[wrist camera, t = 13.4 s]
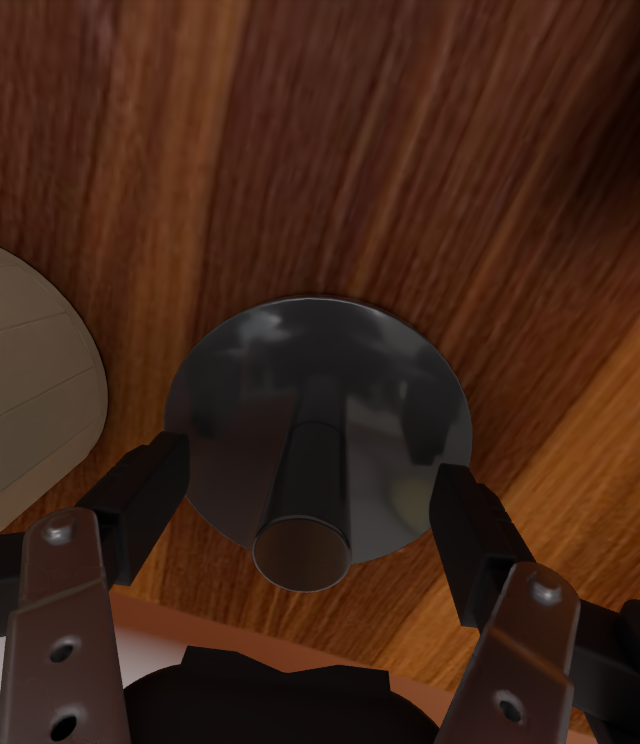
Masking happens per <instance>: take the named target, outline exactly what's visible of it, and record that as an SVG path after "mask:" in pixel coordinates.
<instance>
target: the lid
mask: <svg viewBox="0 0 640 744" xmlns="http://www.w3.org/2000/svg"><path fill="white" fill-rule="evenodd" d="M164 431H167V432H175V433H184V434H187V435H188V437H189V455H190V481H189V486H188V489H187V492H186V494H185V497H186V498H187V500H188V501H189V502H190V503H191V505H192V506H193V507H194V509H195V510H196V511H197V512H198V513H199V514H200V515H201V516H202V517H203V518H204V519H205V520H206V521H207V522H208V523H209V524H210V525H211V526H212V527H213V528H215V529H216V530H217V531H218V532H220V533H221V534H222V535H224V536H225V537H227V538H228V539H230V540H231V541H233V542H234V543H236V544H238V545H240V546H242V547H244V548H246V549H248V550H250V551H252V555H253V560H254V562H255V565H256V567H257V569H258V570H259V571H260V573H261V574H262V575H263V576H264V577H265V578H266V579H267V580H269V581H270V582H271V583H273V584H275V585H277V586H279V587H281V588H284V589H286V590H290V591H295V592H316V591H321V590H324V589H327V588H329V587H331V586H333V585H335V584H336V583H338V582H339V581H340V580H341V579H342V578H343V577H344V576H345V575H346V573H347V571H348V570H349V567H350V565H352V564H358V563H362V562H366V561H371V560H374V559H377V558H379V557H382V556H385V555H388V554H390V553H392V552H394V551H396V550H399V549H401V548H403V547H405V546H406V545H408V544H409V543H411V542H413V541H414V540H416V539H417V538H419V537H420V536H421V535H423V534H424V533H425V532H426V531H428V530H429V529H430V528H431V525H430V521H429V504H430V499H431V495H432V492H433V488H434V484H435V480H436V476H437V472H438V468H439V466H440V464H441V463H447V464H455V465H464V466H467V467H469V463H470V458H471V453H472V438H473V431H472V421H471V413H470V410H469V406H468V402H467V398H466V395H465V393H464V391H463V388H462V386H461V384H460V381H459V379H458V377H457V376H456V374H455V373H454V371H453V369H452V368H451V366H450V365H449V363H448V361H447V360H446V359H445V358H444V357H443V355H442V354H441V353H440V352H439V351H438V350H437V348H436V347H435V346H434V345H433V344H432V343H431V341H430V340H428V339H427V338H426V337H425V336H424V335H423V334H422V333H420V332H419V331H418V330H417V329H416V328H415V327H413V326H412V325H410V324H409V323H407V322H406V321H404V320H403V319H401V318H400V317H398V316H397V315H395V314H393V313H390V312H388V311H386V310H384V309H382V308H380V307H378V306H376V305H372V304H369V303H366V302H363V301H360V300H357V299H353V298H347V297H342V296H336V295H324V294H303V295H291V296H285V297H280V298H276V299H271V300H267V301H264V302H261V303H259V304H256V305H253V306H251V307H248V308H246V309H244V310H242V311H240V312H238V313H236V314H235V315H233V316H231V317H229V318H227V319H226V320H225V321H223V322H222V323H221V324H219V325H218V326H217V327H215V328H214V329H213V330H211V331H210V332H209V333H207V334H206V335H205V336H204V337H203V338H202V339H201V340H200V341H199V342H198V343H197V344H196V345H195V346H194V347H193V348H192V350H191V351H190V353H189V354H188V355H187V357H186V358H185V360H184V361H183V362H182V364H181V366H180V367H179V369H178V371H177V373H176V375H175V377H174V379H173V381H172V384H171V387H170V390H169V393H168V397H167V401H166V407H165V413H164Z"/></svg>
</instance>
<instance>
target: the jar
mask: <svg viewBox="0 0 640 744" xmlns="http://www.w3.org/2000/svg"><path fill="white" fill-rule="evenodd" d="M107 407H108V388H107V381H106V376H105V370H104V367H103V364H102V361H101V357H100V354H99V352H98V349H97V347H96V345H95V343H94V341H93V338H92V336H91V334H90V333H89V331H88V329H87V328H86V326H85V324H84V323H83V321H82V319H81V318H80V316H79V315H78V314H77V312H76V311H75V310H74V308H73V307H72V306H71V304H70V303H69V302H68V301H67V300H66V299H65V297H64V296H63V295H62V294H61V293H60V292H59V291H58V290H57V289H56V288H55V287H54V286H53V285H52V284H51V283H50V282H49V281H48V280H47V279H46V278H44V277H43V276H42V275H41V274H40V273H39V272H38V271H36V270H35V269H33V268H32V267H31V266H29V265H28V264H26V263H25V262H24V261H22V260H21V259H19V258H18V257H16V256H14V255H12V254H11V253H9V252H7V251H5V250H4V249H2V248H0V532H1V531H2V530H3V529H4V528H5V527H7V526H8V525H9V524H10V523H11V522H12V521H14V520H15V519H16V518H17V517H18V516H19V515H20V514H22V513H23V512H24V511H25V510H26V509H27V508H29V507H30V506H31V505H32V504H33V503H34V502H35V501H37V500H38V499H39V498H40V497H41V496H42V495H44V494H45V493H46V492H47V491H48V490H49V489H50V488H52V487H53V486H54V485H55V484H56V483H57V482H59V481H60V480H61V479H62V478H63V477H64V476H65V475H67V474H68V473H69V472H70V471H71V470H72V469H74V468H75V467H76V466H77V465H78V464H79V463H80V462H82V461H83V460H84V459H85V458H86V457H87V456H88V454H89V453H90V452H91V451H92V449H93V448H94V446H95V445H96V443H97V442H98V439H99V437H100V435H101V433H102V431H103V428H104V424H105V420H106V416H107Z"/></svg>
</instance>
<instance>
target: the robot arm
mask: <svg viewBox="0 0 640 744" xmlns="http://www.w3.org/2000/svg"><path fill="white" fill-rule="evenodd" d="M189 481H190V455H189V437H188V435H187V434H184V433H175V432H167V431H162V432H160V433H159V434H158V435H157V437H156V438H155V439H154V440H153V441H152V442H151V443H150V444H149V445H141V446H139V447H137V448H135V449H133V450H132V451H130V452H128V453H126V454H125V455H124V456H123V457H122V458H121V459H120V460H119V461H118V462H117V463H116V465H115V466H113V467H112V468H111V469H110V470H109V471H108V472H107V475H106V476H103V477H102V478H101V479H100V480H99V481H98V482H97V483H96V485H95V486H94V487H93V488H92V489H91V490H90V491H89V492H88V493H87V494H86V495H85V496H84V497H83V498H82V499H81V500H80V501H79V502H78V503H77V504H76V505H75V506H74V507H71V508H65V509H61V510H57V511H54V512H52V513H50V514H47V515H46V516H44V517H42V518H40V519H39V520H37V521H36V522H35V523H34V524H32V525H31V526H30V527H29V529H28V530H27V531H26V532H20V533H12V534H4V535H0V637H4V636H6V642H5V652H4V662H3V671H2V681H1V690H0V744H566V739H567V732H568V726H569V720H570V714H571V707H572V706H573V707H575V708H578V709H580V710H582V711H583V712H584V714H585V716H586V719H587V721H588V723H589V725H590V727H591V730H592V732H593V734H594V736H595V738H596V740H597V743H598V744H640V600H637V599H633V600H628V601H626V602H625V603H624V605H623V607H622V608H621V610H620V612H619V613H617V612H614V611H611V610H609V609H606V608H603V607H601V606H598V605H595V604H593V603H590V602H587V601H585V600H582V599H580V598H579V597H578V594H577V593H576V591H575V590H574V588H573V587H572V586H571V585H570V584H569V583H568V581H567V580H565V579H564V578H563V577H562V576H561V575H559V574H558V573H557V572H555V571H553V570H552V569H550V568H548V567H546V566H544V565H541V564H539V563H537V562H536V561H535V559H534V557H533V556H532V554H531V552H530V551H529V549H528V547H527V546H526V544H525V542H524V540H523V539H522V537H521V535H520V534H519V532H518V530H517V529H516V527H515V525H514V524H513V523H512V522H511V521H512V520H511V519H510V517H509V515H508V514H507V512H505V509H504V507H503V505H502V504H501V502H500V500H499V498H498V497H497V496H496V495H495V494H494V493H493V492H492V491H491V490H490V489H488V488H487V487H486V486H485V485H484V484H478V483H476V481H475V479H474V477H473V475H472V474H471V472H470V470H469V468H468V467H467V466H464V465H455V464H447V463H441V464H440V466H439V468H438V472H437V476H436V480H435V484H434V488H433V492H432V495H431V499H430V504H429V521H430V525H431V528H432V532H433V535H434V538H435V541H436V545H437V548H438V551H439V555H440V558H441V561H442V564H443V568H444V571H445V574H446V577H447V581H448V584H449V587H450V590H451V594H452V597H453V600H454V603H455V607H456V610H457V613H458V617H459V620H460V623H461V626H467V627H475V628H478V630H479V633H480V638H479V640H478V642H477V645H476V647H475V649H474V652H473V654H472V656H471V658H470V661H469V663H468V665H467V668H466V670H465V672H464V674H463V677H462V679H461V681H460V684H459V686H458V688H457V690H456V693H455V695H454V698H453V700H452V702H451V704H450V706H449V709H448V711H447V713H446V716H445V718H444V720H443V723H442V725H441V727H440V728H439V727H438V726H437V725H436V724H435V723H434V721H433V720H431V719H430V718H429V717H428V716H427V715H426V714H425V713H424V712H423V711H422V710H421V709H419V708H418V707H417V706H415V705H414V704H413V703H411V702H410V701H409V700H407V699H405V698H403V697H402V696H400V695H398V694H396V693H394V692H392V691H390V683H389V673H388V671H384V670H377V669H368V668H361V667H353V666H345V665H334V666H328V667H322V668H316V669H310V670H305V671H298V672H292V673H284V672H281V671H279V670H276V669H274V668H272V667H270V666H267V665H265V664H263V663H261V662H258V661H256V660H254V659H252V658H249V657H247V656H245V655H243V654H240V653H238V652H235V651H226V650H219V649H211V648H203V647H195V646H187V649H186V651H185V654H184V657H183V659H182V662H181V664H179V665H173V666H169V667H166V668H163V669H160V670H157V671H155V672H153V673H150V674H148V675H146V676H144V677H142V678H140V679H138V680H137V681H135V682H133V683H132V684H130V685H129V686H127V687H126V688H124V689H123V685H122V679H121V672H120V665H119V659H118V652H117V645H116V638H115V632H114V625H113V619H112V612H111V605H110V598H109V590H110V589H111V587H112V586H113V584H117V585H125V586H130V585H131V584H132V582H133V580H134V579H135V577H136V575H137V574H138V572H139V570H140V569H141V567H142V565H143V564H144V562H145V560H146V559H147V557H148V555H149V554H150V552H151V551H152V549H153V547H154V546H155V544H156V542H157V541H158V539H159V537H160V536H161V534H162V532H163V531H164V529H165V527H166V526H167V524H168V522H169V521H170V519H171V517H172V516H173V514H174V512H175V511H176V509H177V507H178V506H179V504H180V503H181V501H182V499H183V498H184V496H185V494H186V492H187V489H188V486H189Z"/></svg>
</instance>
